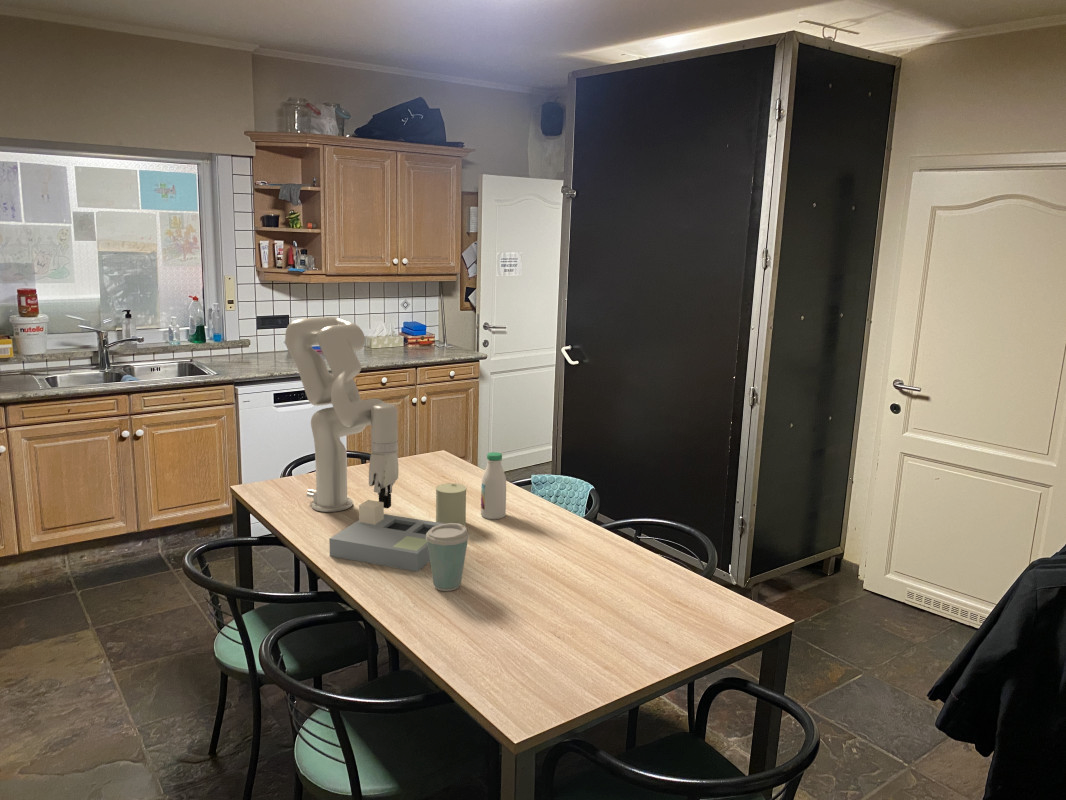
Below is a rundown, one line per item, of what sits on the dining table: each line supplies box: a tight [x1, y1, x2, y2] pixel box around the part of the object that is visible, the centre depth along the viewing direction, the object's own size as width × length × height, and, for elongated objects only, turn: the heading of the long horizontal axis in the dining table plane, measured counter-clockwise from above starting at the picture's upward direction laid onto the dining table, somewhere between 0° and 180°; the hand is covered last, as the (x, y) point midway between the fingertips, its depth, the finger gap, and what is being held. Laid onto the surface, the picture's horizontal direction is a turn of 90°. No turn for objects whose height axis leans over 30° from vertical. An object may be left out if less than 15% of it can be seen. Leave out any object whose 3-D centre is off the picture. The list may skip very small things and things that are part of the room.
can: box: [435, 482, 467, 527], centre depth 232 cm, size 9×9×12 cm
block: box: [358, 499, 385, 525], centre depth 220 cm, size 5×5×5 cm
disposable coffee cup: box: [426, 523, 470, 592], centre depth 191 cm, size 11×11×15 cm
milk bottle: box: [480, 451, 507, 520], centre depth 240 cm, size 8×8×20 cm
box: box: [328, 513, 444, 572], centre depth 214 cm, size 26×22×5 cm
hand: (384, 506), depth 228 cm, fingers closed
